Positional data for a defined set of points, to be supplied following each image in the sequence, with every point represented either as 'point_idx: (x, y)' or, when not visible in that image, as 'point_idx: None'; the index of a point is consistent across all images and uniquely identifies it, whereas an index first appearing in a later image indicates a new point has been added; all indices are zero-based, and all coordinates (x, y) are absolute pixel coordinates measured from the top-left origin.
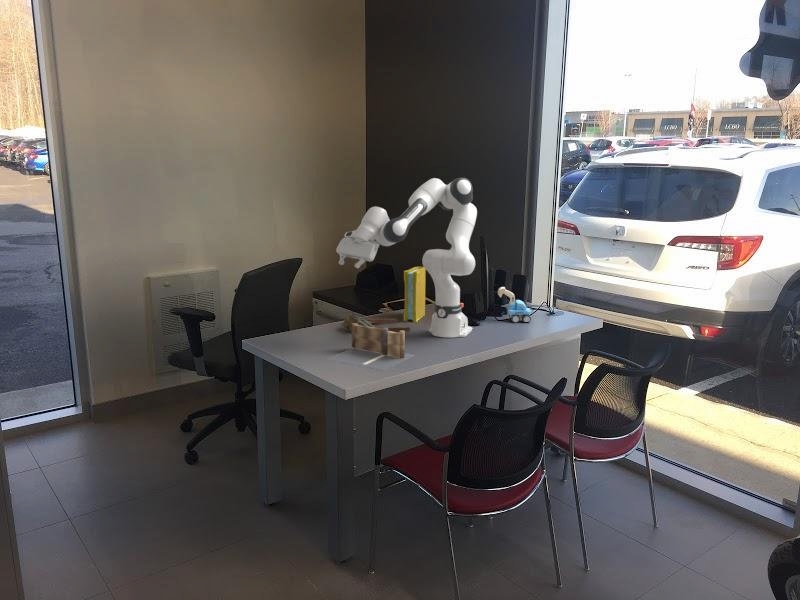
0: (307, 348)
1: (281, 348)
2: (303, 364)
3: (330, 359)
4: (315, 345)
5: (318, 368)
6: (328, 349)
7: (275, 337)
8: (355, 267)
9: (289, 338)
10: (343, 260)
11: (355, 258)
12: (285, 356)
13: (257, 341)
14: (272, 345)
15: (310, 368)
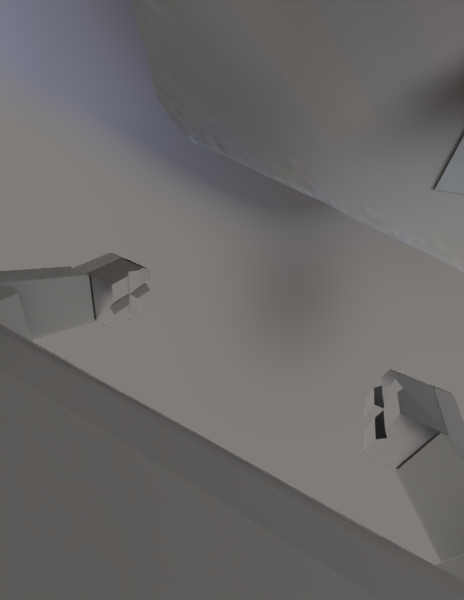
0: (319, 107)
1: (262, 140)
2: (387, 220)
3: (453, 187)
4: (321, 58)
5: (439, 235)
6: (397, 79)
7: (164, 53)
8: (385, 380)
9: (194, 33)
10: (65, 280)
11: (187, 431)
12: (314, 187)
13: (179, 115)
14: (227, 127)
15: (417, 237)
